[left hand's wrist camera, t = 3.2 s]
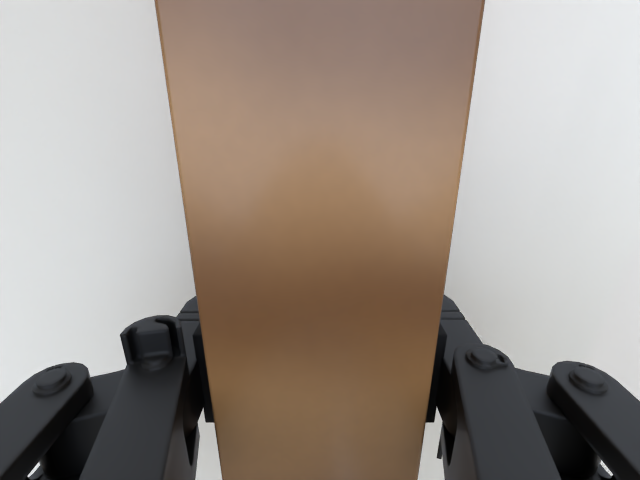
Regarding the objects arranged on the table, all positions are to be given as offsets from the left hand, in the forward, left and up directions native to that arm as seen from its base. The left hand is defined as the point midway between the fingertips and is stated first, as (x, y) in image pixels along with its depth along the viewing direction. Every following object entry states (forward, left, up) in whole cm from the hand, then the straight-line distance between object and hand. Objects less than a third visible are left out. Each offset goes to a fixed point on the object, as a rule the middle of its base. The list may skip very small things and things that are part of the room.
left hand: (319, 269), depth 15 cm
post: (+21, -15, -1) cm, 26 cm away
